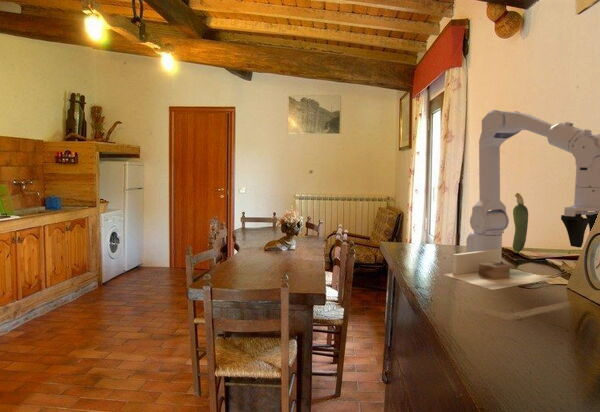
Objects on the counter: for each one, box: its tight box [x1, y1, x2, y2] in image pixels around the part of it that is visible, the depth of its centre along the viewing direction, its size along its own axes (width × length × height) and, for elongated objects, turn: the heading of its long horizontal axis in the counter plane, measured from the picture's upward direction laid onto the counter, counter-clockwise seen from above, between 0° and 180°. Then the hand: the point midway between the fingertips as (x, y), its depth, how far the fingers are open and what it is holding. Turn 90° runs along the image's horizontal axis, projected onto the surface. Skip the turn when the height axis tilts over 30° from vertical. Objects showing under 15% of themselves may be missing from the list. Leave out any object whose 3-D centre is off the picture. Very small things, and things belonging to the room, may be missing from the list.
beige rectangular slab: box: [452, 249, 502, 274], centre depth 111 cm, size 1×16×5 cm, turn 115°
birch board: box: [443, 267, 553, 291], centre depth 105 cm, size 15×21×1 cm
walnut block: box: [479, 262, 511, 280], centre depth 105 cm, size 5×5×3 cm
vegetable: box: [512, 192, 529, 254], centre depth 136 cm, size 4×4×20 cm
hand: (586, 245), depth 98 cm, fingers open, 7 cm apart
